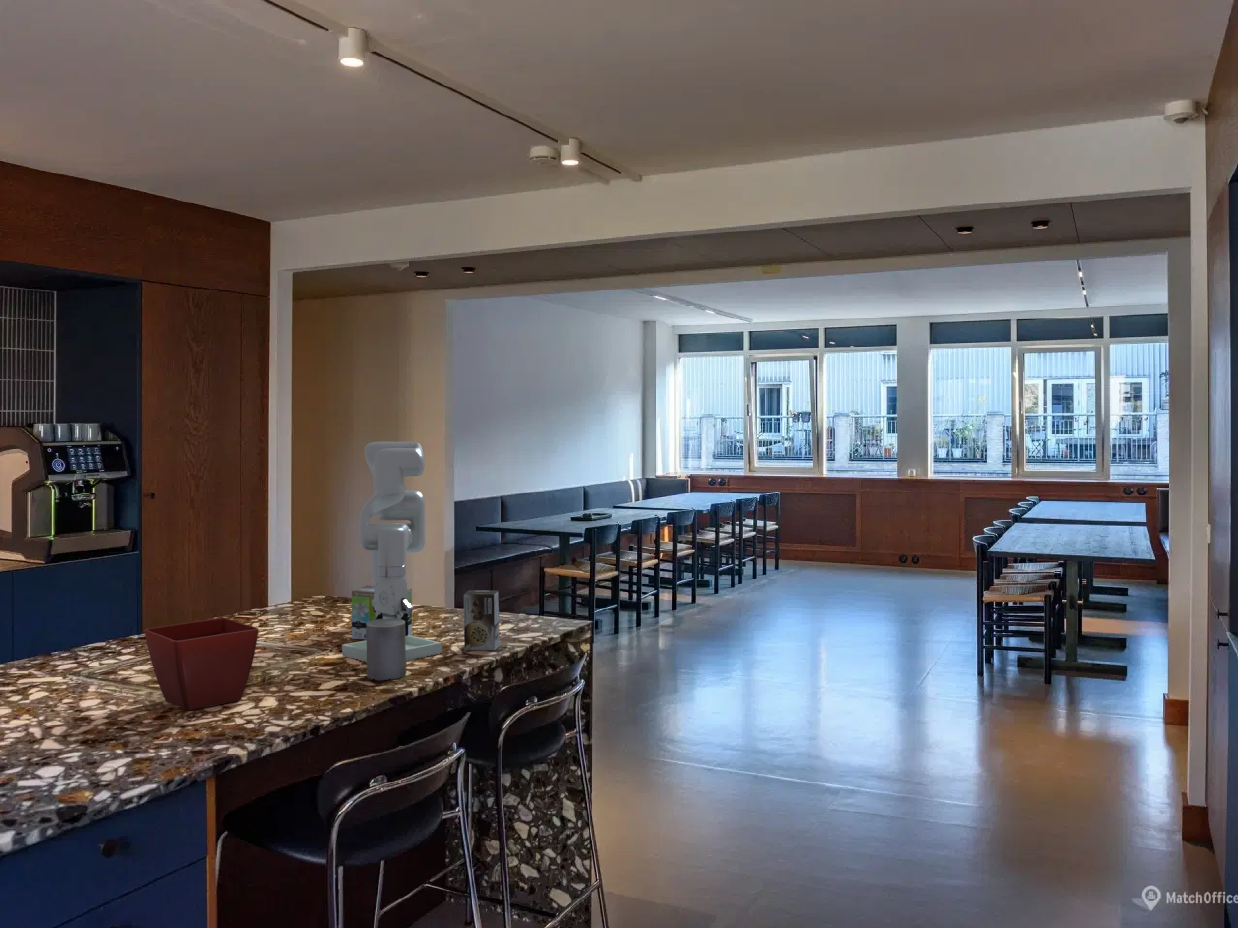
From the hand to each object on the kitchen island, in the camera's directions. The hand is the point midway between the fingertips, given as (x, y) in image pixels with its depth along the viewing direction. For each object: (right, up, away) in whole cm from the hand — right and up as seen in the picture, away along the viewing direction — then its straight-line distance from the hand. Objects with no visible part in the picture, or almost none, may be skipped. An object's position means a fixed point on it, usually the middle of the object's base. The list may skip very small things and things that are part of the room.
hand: (392, 633), depth 279 cm
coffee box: (+24, -6, +9) cm, 26 cm away
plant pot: (-33, -8, -47) cm, 58 cm away
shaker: (0, -5, 0) cm, 5 cm away
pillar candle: (+4, -7, -23) cm, 24 cm away
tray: (0, -6, 0) cm, 6 cm away
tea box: (-8, -5, +22) cm, 24 cm away
